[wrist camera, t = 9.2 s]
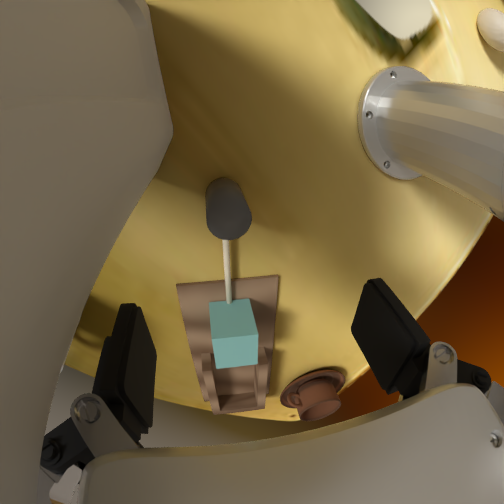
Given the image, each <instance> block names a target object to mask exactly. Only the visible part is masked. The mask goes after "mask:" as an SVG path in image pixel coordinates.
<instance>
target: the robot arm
mask: <svg viewBox="0 0 504 504" xmlns="http://www.w3.org/2000/svg"><path fill="white" fill-rule="evenodd" d="M358 129H359V134H360V139H361V142H362V144H363V147H364V149H365V151H366V153H367V155H368V157H369V158H370V160H371V161H372V162H373V163H374V164H375V166H376V167H377V168H379V169H380V170H381V171H383V172H384V173H386V174H388V175H390V176H392V177H394V178H397V179H403V180H410V179H415V178H418V177H420V176H422V175H423V176H425V177H427V178H429V179H431V180H433V181H435V182H437V183H439V184H441V185H443V186H445V187H447V188H449V189H451V190H453V191H454V192H456V193H458V194H460V195H462V196H463V197H465V198H467V199H469V200H470V201H472V202H474V203H475V204H477V205H479V206H480V207H482V208H484V209H485V210H487V211H489V212H490V213H492V214H493V215H495V216H496V217H498V218H499V219H501V220H503V221H504V92H503V91H498V90H493V89H488V88H482V87H476V86H470V85H463V84H455V83H445V82H433V81H430V80H429V79H428V78H427V77H426V76H425V75H424V74H422V73H421V72H419V71H417V70H415V69H413V68H410V67H406V66H394V67H387V68H385V69H383V70H380V71H379V72H377V73H376V74H375V75H374V76H372V78H371V79H370V80H369V81H368V83H367V84H366V86H365V88H364V90H363V92H362V94H361V98H360V102H359V106H358ZM351 332H352V334H353V336H354V338H355V340H356V342H357V343H358V345H359V347H360V349H361V351H362V352H363V354H364V356H365V358H366V360H367V362H368V364H369V365H370V367H371V369H372V371H373V373H374V375H375V376H376V378H377V380H378V382H379V384H380V386H381V387H382V389H384V390H386V392H387V394H388V395H389V394H391V393H394V392H396V391H399V392H400V397H399V401H398V403H395V404H393V405H390V406H388V407H385V408H383V409H380V410H378V411H374V412H372V413H369V414H366V415H363V416H360V417H357V418H354V419H350V420H348V421H344V422H341V423H337V424H334V425H330V426H326V427H323V428H319V429H315V430H310V431H306V432H302V433H298V434H293V435H288V436H282V437H277V438H271V439H265V440H259V441H252V442H244V443H235V444H225V445H213V446H198V447H164V448H144V447H143V446H142V444H141V443H140V442H139V440H140V439H141V433H142V434H143V433H144V434H148V427H152V423H153V401H154V385H155V372H156V360H157V354H156V349H155V347H154V344H153V341H152V338H151V336H150V333H149V330H148V327H147V324H146V321H145V319H144V316H143V312H142V309H141V307H137V306H136V304H135V303H126V304H121V305H120V308H119V311H118V315H117V318H116V322H115V325H114V329H113V332H112V336H107V337H106V339H105V341H104V345H103V348H102V352H101V356H100V360H99V364H98V368H97V372H96V377H95V381H94V386H93V391H92V394H91V393H87V394H83V395H80V396H79V397H77V398H76V399H75V400H74V402H73V403H72V406H71V409H70V414H71V417H70V418H69V419H67V420H66V421H64V422H63V423H62V424H60V425H59V426H57V427H56V428H55V429H53V430H52V431H51V432H49V433H48V434H46V435H45V436H44V440H43V446H42V452H41V458H40V466H39V474H38V484H37V499H36V504H71V503H70V501H71V498H72V496H73V494H74V493H75V492H74V491H73V490H74V488H75V487H76V485H77V484H79V488H78V497H77V504H504V388H503V387H502V386H500V385H499V384H497V383H496V382H494V381H493V382H492V383H491V378H490V376H489V374H488V372H487V371H486V370H484V369H483V368H481V367H478V366H475V365H472V364H469V363H466V362H463V361H461V360H458V359H457V355H456V352H455V350H454V349H453V348H452V347H451V346H450V345H449V344H447V343H445V342H436V343H434V344H432V346H431V345H430V344H429V342H430V339H429V338H428V336H427V335H426V334H425V332H424V331H423V330H422V328H421V327H420V326H419V324H418V323H417V322H416V320H415V319H414V318H413V316H412V315H411V314H410V313H409V311H408V310H407V309H406V308H405V306H404V305H403V304H402V303H401V301H400V300H399V299H398V298H397V296H396V295H395V294H394V293H393V291H392V290H391V289H390V288H389V287H388V285H387V284H386V283H385V282H384V281H383V280H382V279H381V278H376V279H370V280H368V281H367V283H366V284H365V285H364V287H363V291H362V294H361V297H360V301H359V304H358V307H357V310H356V314H355V317H354V320H353V323H352V326H351Z"/></svg>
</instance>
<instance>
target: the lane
mask: <svg viewBox="0 0 504 504" xmlns="http://www.w3.org/2000/svg"><path fill="white" fill-rule="evenodd" d="M176 287H177V292H178V297H179V302H180V307H181V311H182V316H183V321H184V325H185V329H186V334H187V338H188V342H189V346H190V350H191V354H192V358H193V362H194V366H195V369H196V373H197V377H198V380H199V384H200V387H201V391H202V394H203V398H204V401H210V404H211V407H212V411H213V414H214V415H215V414H226V413H235V412H244V411H251V410H258V409H265V398H266V394H269V384H270V374H271V364H272V353H273V341H274V329H275V317H276V304H277V290H278V275H269V276H260V277H249V278H239V279H231V292H232V300H239V299H248V298H249V300H250V304H251V307H252V311H253V315H254V319H255V323H256V327H257V331H258V364H255V365H247V366H239V367H230V368H220V369H216V363H215V357H214V351H213V345H212V337H211V325H210V313H209V302H218V301H226V287H225V280H217V281H206V282H194V283H182V284H176Z"/></svg>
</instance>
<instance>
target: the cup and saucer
mask: <svg viewBox="0 0 504 504" xmlns="http://www.w3.org/2000/svg"><path fill="white" fill-rule="evenodd" d="M344 383H345V377H344V375H343V374H342V373H340V372H338V371H335V370H320V371H315V372H312V373H309V374H306V375H304V376H301V377H299V378H297V379H296V380H294V381H293V382H291V383H290V384H289V385H288V386H287V387H286V388H285V389H284V390H283V392H282V393H281V396H280V401H281V404H282V405H284V406H285V407H289V408H297V410H298V414H299V417H300V419H301V420H303V421H313V420H318V419H321V418H324V417H326V416H328V415H330V414H332V413H334V412H335V411H336V410H337V409H338V408H339V407H340V406H341V402H340V399H339V397H338V395H337V392H338V391H339V390H340V389H341V388H342V387H343V385H344Z"/></svg>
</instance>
